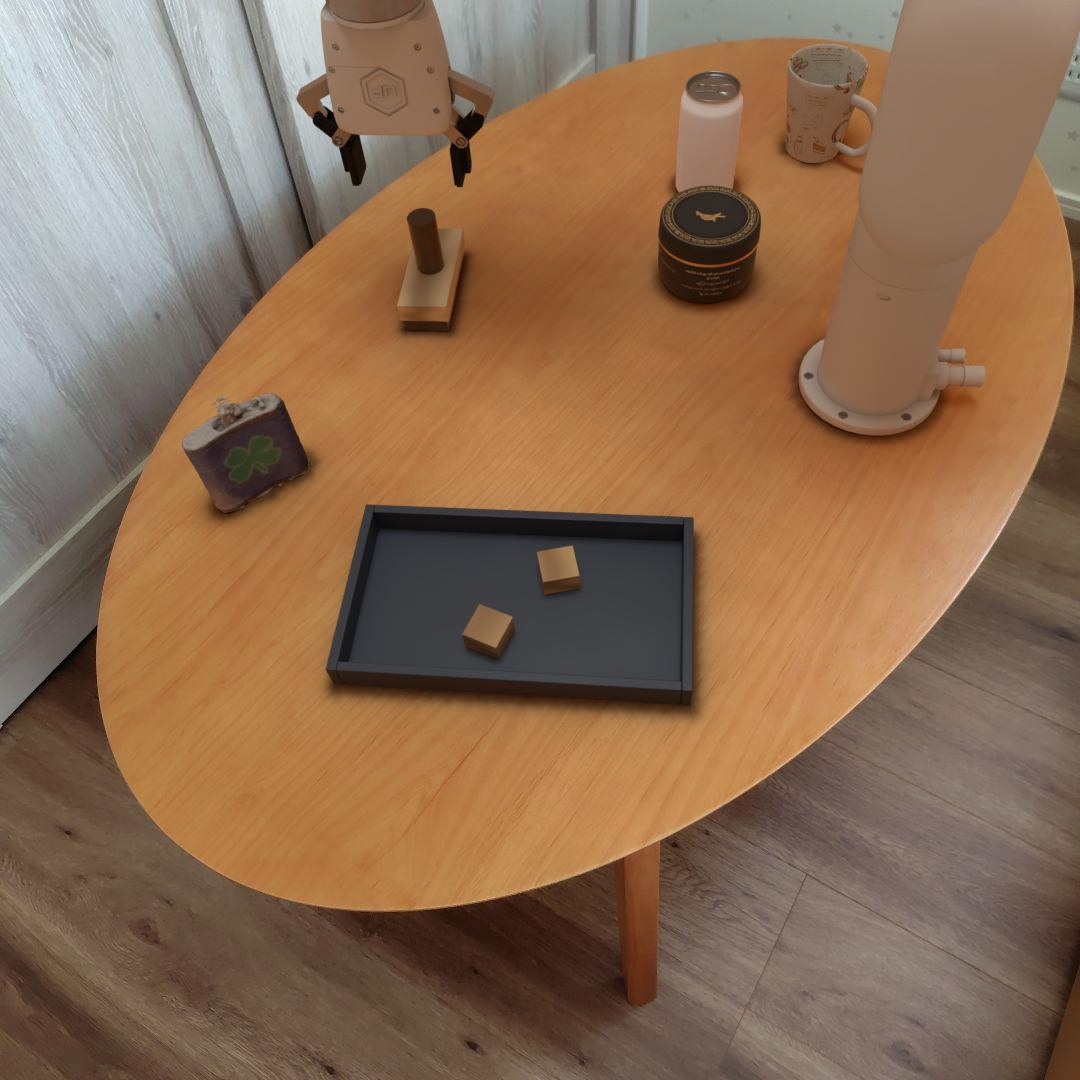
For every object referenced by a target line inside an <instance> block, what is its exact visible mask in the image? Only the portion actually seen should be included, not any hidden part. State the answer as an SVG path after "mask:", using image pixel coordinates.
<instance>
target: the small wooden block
mask: <svg viewBox="0 0 1080 1080" xmlns="http://www.w3.org/2000/svg"><path fill="white" fill-rule="evenodd" d="M514 630H515V625H514V620H513V617H512V616H509V615H507V614H504V613H502V612H499V611H497V610H494V609H491V608H489V607H486V606H484V605H481V604H479V606H478V607H477V609H476V611H475V613H474V614H473V616H472V618H471V619H470V621H469V623H468V625H467V626H466V628H465V630H464V632H463V633H462V636H463V640H464V643H465V646H466V647H469V648H471V649H474V650H476V651H479V652H481V653H484V654H486V655H488V656H491V657H493V658H496V659H499V658H500V656H501V654H502V652H503V650H504V649H505V647H506V645H507V643H508V641H509V639H510V638H511V636H512V634H513V632H514Z"/></svg>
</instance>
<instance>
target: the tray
mask: <svg viewBox="0 0 1080 1080" xmlns="http://www.w3.org/2000/svg"><path fill="white" fill-rule="evenodd" d="M694 523H695V518H694V517H693V516H675V515H674V516H673V515H672V516H671V515H650V514H649V515H647V514H642V515H641V514H624V513H623V514H621V513H620V514H619V513H600V512H599V513H595V512H574V511H573V512H571V511H549V510H547V511H546V510H545V511H544V510H516V509H495V508H468V507H466V508H465V507H445V506H443V507H441V506H419V505H416V506H414V505H390V504H372V503H371V504H370V503H369V504H368V503H366V504H365V506H364V510H363V514H362V519H361V523H360V527H359V530H358V536H357V539H356V543H355V547H354V550H353V556H352V559H351V564H350V567H349V572H348V576H347V580H346V584H345V588H344V591H343V592H344V593H343V596H342V601H341V605H340V610H339V613H338V617H337V621H336V625H335V629H334V633H333V638H332V642H331V645H330V650H329V654H328V658H327V662H326V667H325V671H326V673H327V675H328V677H329V678H330V680H331V682H332V684H333V685H341V686H343V685H344V686H358V687H373V688H390V689H391V688H393V689H407V690H408V689H409V690H423V691H424V690H425V691H439V692H440V691H441V692H456V693H457V692H458V693H459V692H460V693H472V694H473V693H474V694H475V693H476V694H490V695H491V694H492V695H506V696H508V695H510V696H525V697H538V698H540V697H542V698H557V699H571V700H572V699H574V700H575V699H576V700H588V701H589V700H591V701H592V700H593V701H607V702H621V703H622V702H624V703H625V702H626V703H641V704H655V705H656V704H659V705H674V706H689V707H690V706H691V705H692V699H693V693H694V555H695V553H694V551H695V550H694V541H695V540H694V538H695V535H694V534H695V533H694V532H695V530H694V529H695V525H694ZM567 546H573V549H574V553H575V557H576V562H577V566H578V570H579V575H580V588H579V589H574V590H568V591H563V592H557V593H551V594H546V595H544V591H543V586H542V581H541V576H540V571H539V566H538V558H537V552H538V551H544V550H550V549H555V548H561V547H567ZM479 604H481V605H484V606H486V607H489V608H491V609H494V610H497V611H499V612H502V613H504V614H507V615H509V616H512V617H513V620H514V625H515V630H514V632H513V634H512V636H511V638H510V639H509V641H508V643H507V645H506V647H505V649H504V650H503V652H502V654H501V656H500V658H499V659H496V658H493V657H491V656H488V655H486V654H484V653H481V652H479V651H476V650H474V649H471V648H469V647H466V646H465V643H464V640H463V636H462V633H463V632H464V630H465V628H466V626H467V625H468V623H469V621H470V619H471V618H472V616H473V614H474V613H475V611H476V609H477V607H478V606H479Z"/></svg>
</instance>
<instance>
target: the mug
mask: <svg viewBox="0 0 1080 1080" xmlns="http://www.w3.org/2000/svg"><path fill="white" fill-rule="evenodd" d="M868 71H869V63H868V60H867V58H866V57H865V56H864V55H863V54H862V53H861V52H859V51H858V50H856V49H854V48H852V47H849V46H846V45H842V44H836V43H815V44H811V45H807V46H805V47H802V48H800V49H798V50H797V51H796V52H794V53H793V54H792V55H791V57H790V59H789V60H788V64H787V82H786V83H787V88H786V119H785V149H786V152H787V154H788V155H789V156H790V157H791V158H792V159H794V160H797V161H799V162H802V163H808V164H821V163H825V162H828V161H830V160H832V159H834V158H835V157H836V156H837V155H838V153H839V152H840V153H842V154H843V155H845V156H847V157H849V158H856V159H857V158H861V157H866V156H867V151H868V147H869V143H870V139H871V134H872V130H873V126H874V122H875V118H876V113H877V109H878V108H877V107H876V106H875V105H874V104H873V103H872V102H871V101H869V100H868V99H867V98H865V97H862V96H861V95H860V94H861V92H862V89H863V86H864V83H865V81H866V78H867V76H868ZM855 109H857V110H859V111H862V112H863V113H864V114H865V115H866V116H867V119H868V120H869V124H870V136H869V139H868V140H867V142H865V144H863V145H862V146H860V147H858V148H852V147H850V146H848V145H846V144H844V143H843V141H844V138H845V135H846V132H847V130H848V127H849V125H850V121H851V120H852V116H853V113H854V110H855Z"/></svg>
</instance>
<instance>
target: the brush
mask: <svg viewBox="0 0 1080 1080" xmlns="http://www.w3.org/2000/svg"><path fill="white" fill-rule="evenodd" d="M406 222H407V225H408V226H407V227H408V231H409V235H410V236H409V237H410V240H411V249H410V253H409V257H408V260H407V265H406V268H405V273H404V275H403V276H404V277H403V281H402V283H401V288H400V292H399V296H398V301H397V304H396V308H397V309H396V310H397V312H398V313H397V314H398V316H399V320H400V321H401V322H404V327H405V330H406V331H416V332H417V331H419V332H421V331H422V332H449V329H450V326H451V320H452V315H453V311H454V306H455V301H456V297H457V292H458V287H459V282H460V278H461V273H462V269H463V263H464V260H465V259H464V258H465V254H464V251H465V248H466V239H465V233H464V229H463V228H438V221H437V215H436V213H435V211H434V210H433V209H431V208H428V207H419V208H415V209H413V210H411V211H410V212H409V213H408V214H407V216H406Z"/></svg>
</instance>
